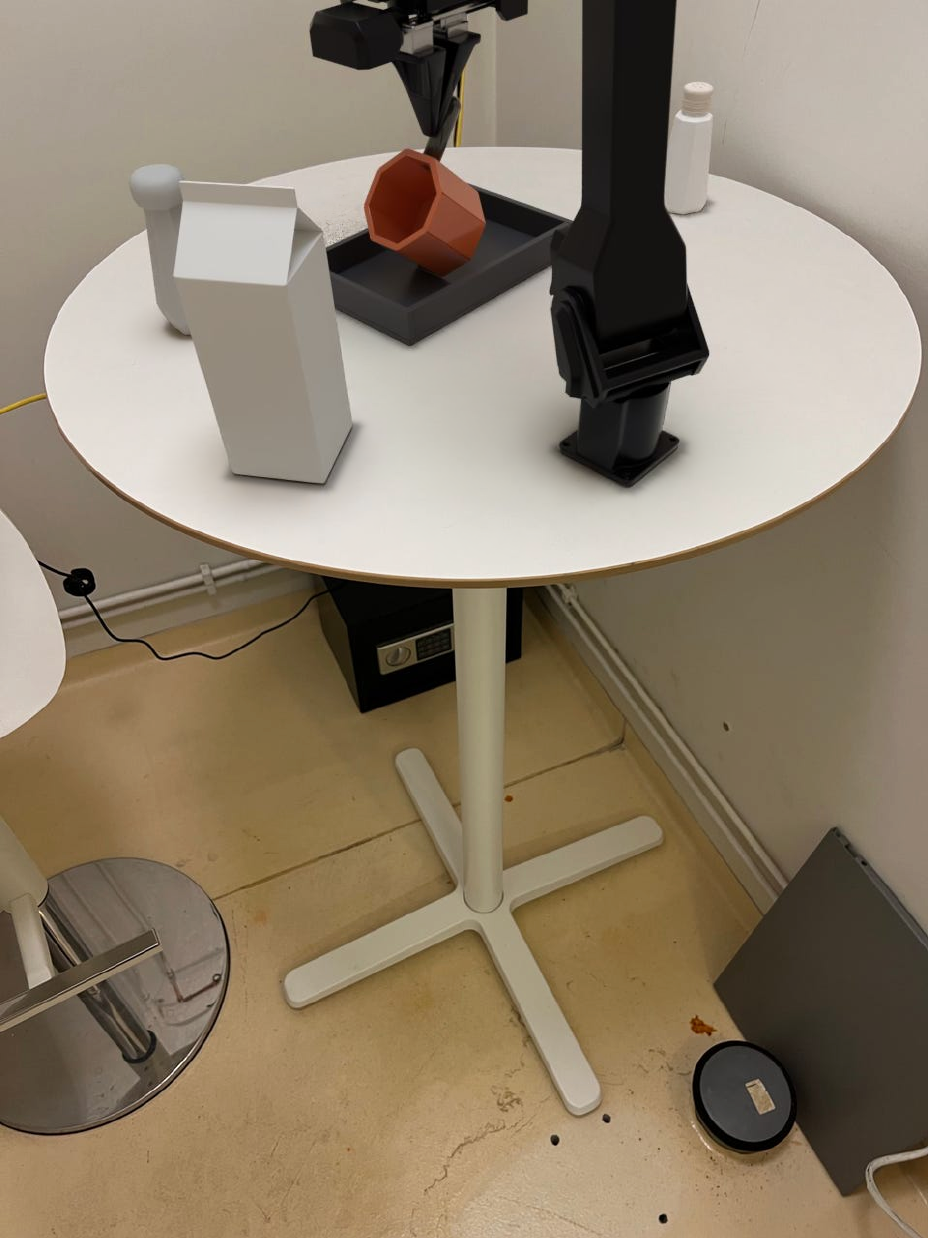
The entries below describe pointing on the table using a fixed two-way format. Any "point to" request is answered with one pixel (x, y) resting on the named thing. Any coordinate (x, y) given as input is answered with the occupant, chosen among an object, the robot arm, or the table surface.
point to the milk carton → (263, 328)
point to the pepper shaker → (689, 151)
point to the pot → (425, 206)
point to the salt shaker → (162, 233)
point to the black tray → (425, 301)
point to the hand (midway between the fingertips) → (430, 134)
